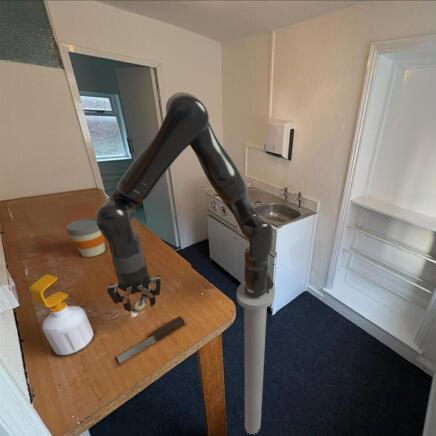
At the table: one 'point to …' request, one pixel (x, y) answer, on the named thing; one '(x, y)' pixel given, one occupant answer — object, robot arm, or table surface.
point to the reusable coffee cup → (87, 237)
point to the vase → (138, 305)
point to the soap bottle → (62, 320)
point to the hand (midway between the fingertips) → (141, 306)
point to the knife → (153, 338)
